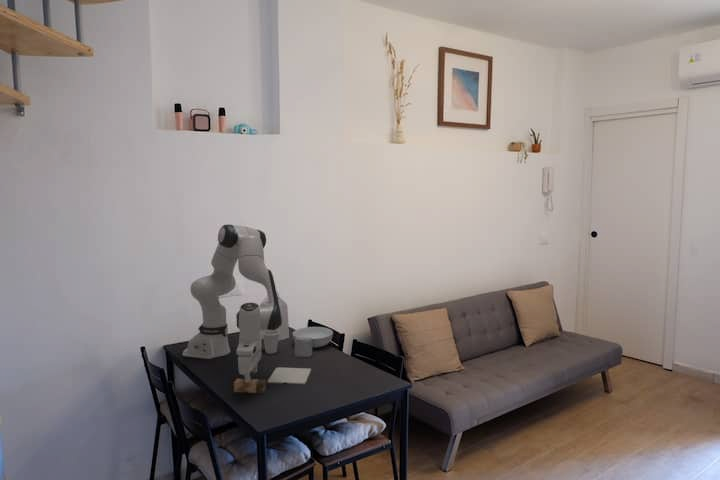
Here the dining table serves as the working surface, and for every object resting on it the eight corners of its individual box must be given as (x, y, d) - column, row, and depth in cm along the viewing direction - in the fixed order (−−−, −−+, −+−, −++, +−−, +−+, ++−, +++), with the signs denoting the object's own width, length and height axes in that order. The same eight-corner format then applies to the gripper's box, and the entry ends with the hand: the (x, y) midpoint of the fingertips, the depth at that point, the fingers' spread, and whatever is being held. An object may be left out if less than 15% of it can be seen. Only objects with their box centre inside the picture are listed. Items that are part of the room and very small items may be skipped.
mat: (267, 382, 207) (267, 381, 206) (276, 368, 222) (276, 367, 222) (304, 384, 205) (304, 382, 205) (311, 369, 221) (311, 368, 221)
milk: (289, 337, 267) (289, 290, 264) (272, 342, 259) (271, 294, 256) (275, 333, 275) (275, 287, 272) (258, 337, 267) (258, 290, 264)
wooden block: (234, 392, 197) (233, 382, 197) (237, 387, 201) (237, 378, 201) (263, 393, 197) (263, 383, 196) (266, 389, 201) (265, 379, 200)
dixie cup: (271, 355, 239) (271, 335, 238) (259, 352, 243) (258, 332, 242) (283, 350, 246) (283, 331, 245) (270, 347, 250) (270, 328, 249)
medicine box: (312, 354, 241) (312, 337, 240) (310, 357, 237) (310, 340, 236) (296, 353, 242) (296, 336, 241) (294, 356, 238) (294, 339, 237)
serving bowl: (306, 336, 269) (306, 324, 268) (340, 342, 260) (340, 329, 259) (284, 347, 251) (284, 334, 250) (319, 354, 241) (319, 341, 241)
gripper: (250, 335, 207) (250, 367, 209) (234, 352, 187) (235, 387, 189) (264, 336, 207) (265, 367, 208) (251, 352, 187) (252, 387, 188)
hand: (251, 377), depth 198 cm, fingers open, 8 cm apart
